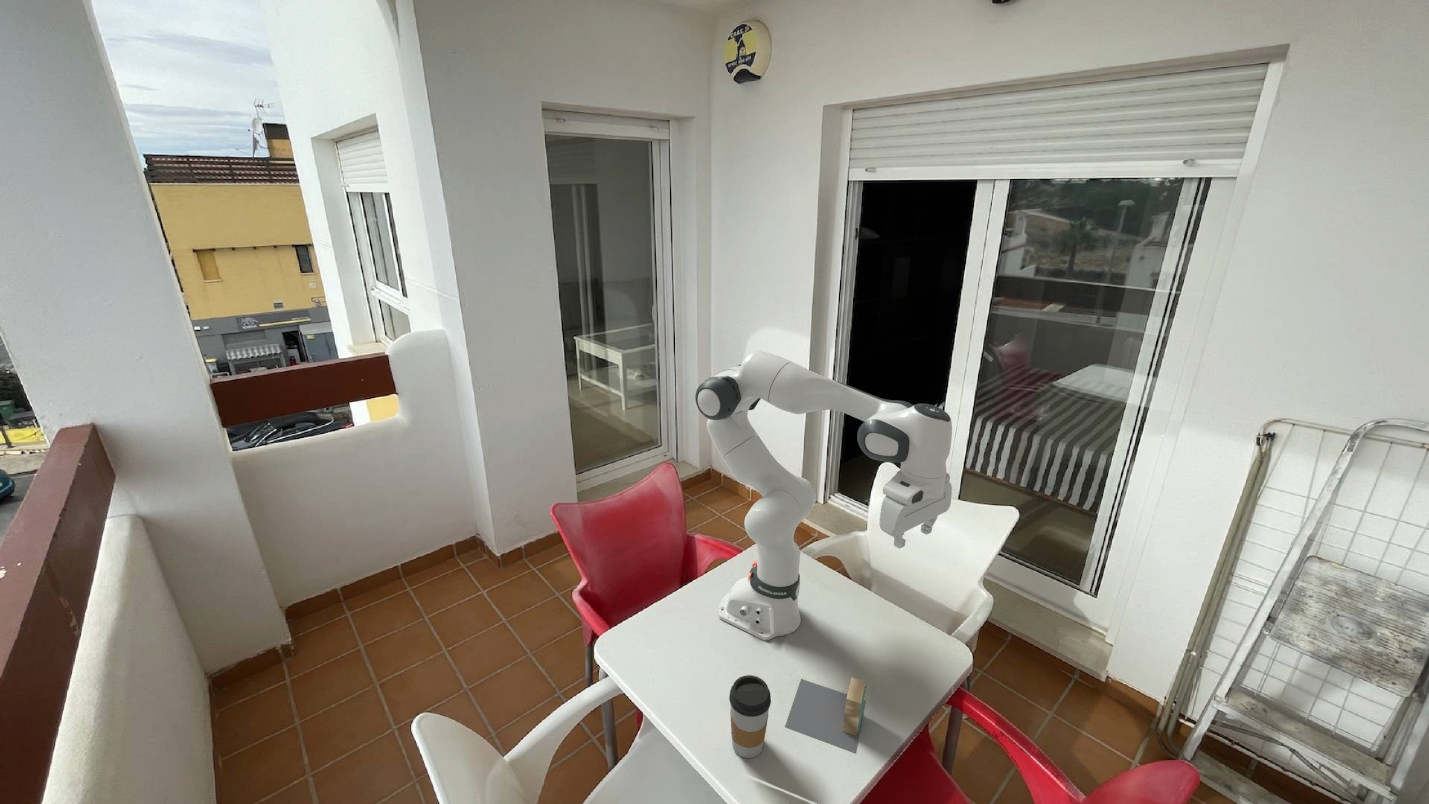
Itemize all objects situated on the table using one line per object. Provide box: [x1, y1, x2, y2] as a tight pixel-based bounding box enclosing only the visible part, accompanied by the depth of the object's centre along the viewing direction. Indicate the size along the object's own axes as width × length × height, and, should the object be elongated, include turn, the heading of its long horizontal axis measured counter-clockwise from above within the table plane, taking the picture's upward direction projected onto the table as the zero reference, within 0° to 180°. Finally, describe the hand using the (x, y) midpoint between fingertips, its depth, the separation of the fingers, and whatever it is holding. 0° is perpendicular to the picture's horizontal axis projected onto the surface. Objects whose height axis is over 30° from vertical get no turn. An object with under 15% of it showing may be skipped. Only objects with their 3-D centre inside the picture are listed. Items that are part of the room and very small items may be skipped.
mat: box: [784, 678, 866, 754], centre depth 120 cm, size 15×14×1 cm
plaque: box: [842, 677, 867, 736], centre depth 116 cm, size 3×6×9 cm, turn 157°
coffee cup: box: [728, 674, 772, 759], centre depth 110 cm, size 8×8×15 cm
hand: (912, 539), depth 117 cm, fingers open, 8 cm apart
